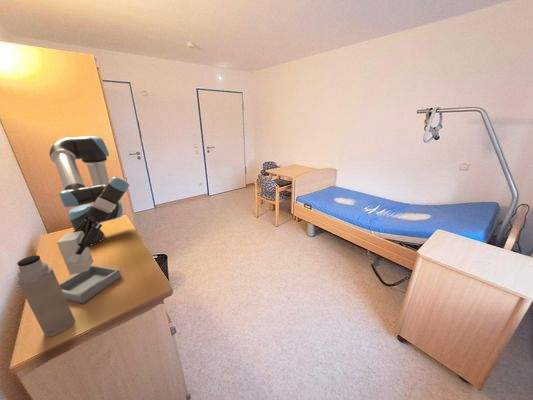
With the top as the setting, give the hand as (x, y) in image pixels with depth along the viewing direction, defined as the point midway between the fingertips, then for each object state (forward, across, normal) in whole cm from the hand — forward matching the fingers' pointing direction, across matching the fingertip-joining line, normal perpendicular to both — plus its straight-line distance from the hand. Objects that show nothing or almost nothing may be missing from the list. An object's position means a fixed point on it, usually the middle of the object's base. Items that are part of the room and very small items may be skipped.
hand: (68, 257), depth 87 cm
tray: (+10, 0, -14) cm, 17 cm away
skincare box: (+3, 0, -7) cm, 8 cm away
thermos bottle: (+19, -16, -5) cm, 26 cm away
